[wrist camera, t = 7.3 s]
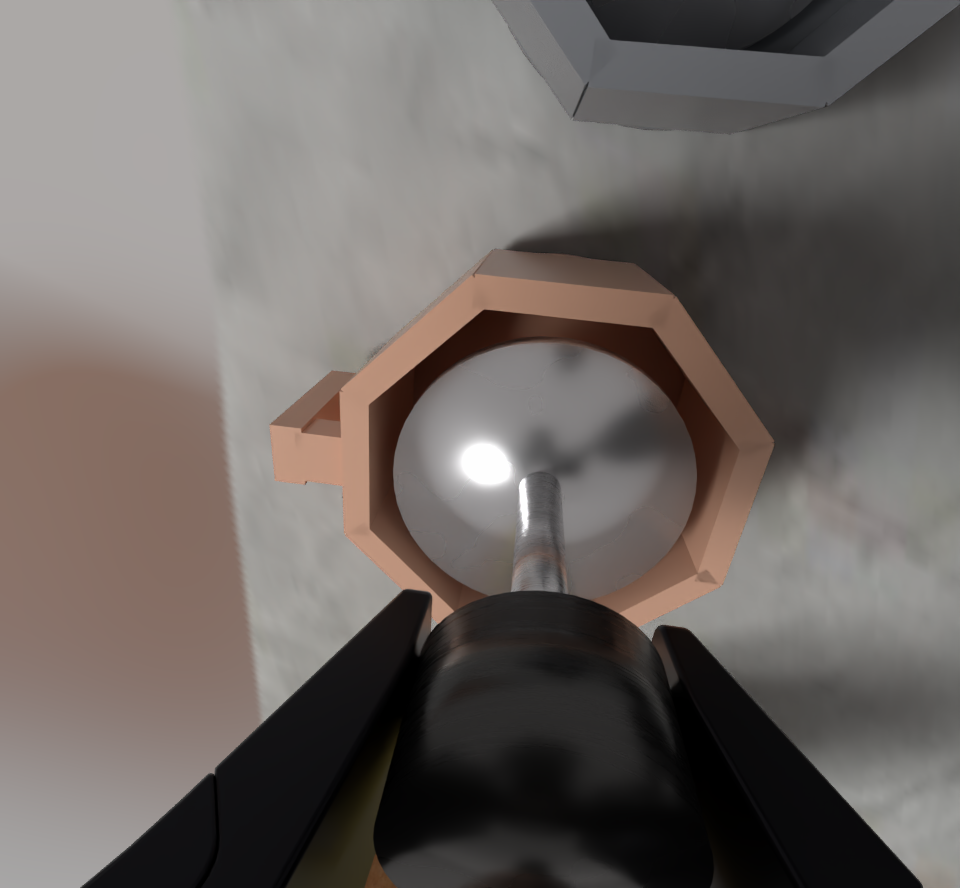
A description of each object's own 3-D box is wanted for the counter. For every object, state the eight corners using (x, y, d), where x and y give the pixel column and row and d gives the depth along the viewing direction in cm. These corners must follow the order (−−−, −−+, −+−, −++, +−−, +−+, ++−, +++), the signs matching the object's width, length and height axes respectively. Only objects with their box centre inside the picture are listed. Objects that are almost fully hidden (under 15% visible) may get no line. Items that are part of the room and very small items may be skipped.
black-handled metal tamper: (728, 355, 10) (1092, 681, 3) (652, 607, 13) (770, 1057, 6) (401, 318, 11) (154, 547, 4) (396, 572, 13) (248, 959, 7)
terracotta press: (731, 270, 14) (824, 311, 9) (653, 543, 17) (692, 666, 13) (340, 230, 14) (247, 249, 10) (348, 502, 18) (283, 606, 13)
